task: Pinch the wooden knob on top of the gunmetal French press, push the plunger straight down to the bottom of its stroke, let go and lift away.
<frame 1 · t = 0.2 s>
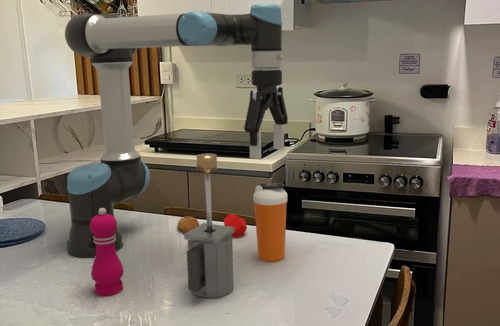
hand: (267, 153, 135), 28 cm above the table, fingers open, 13 cm apart
shaker bottle: (271, 257, 140), on the table
faceted grey canister: (212, 288, 122), on the table
pastry: (189, 231, 163), on the table
plunger: (208, 199, 118), point 22 cm above the table, slide at 0.0 cm
pepper mill: (109, 290, 123), on the table
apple: (235, 235, 158), on the table
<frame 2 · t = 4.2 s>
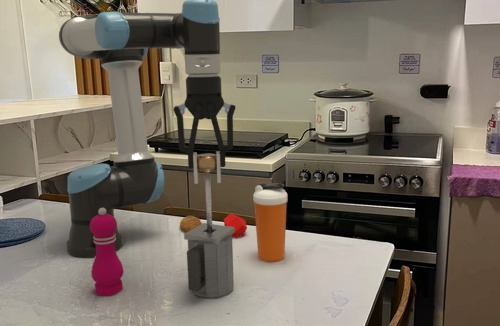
hand: (207, 181, 117), 26 cm above the table, fingers closed on plunger, 4 cm apart
plunger: (208, 199, 118), point 22 cm above the table, slide at 0.0 cm, touching gripper
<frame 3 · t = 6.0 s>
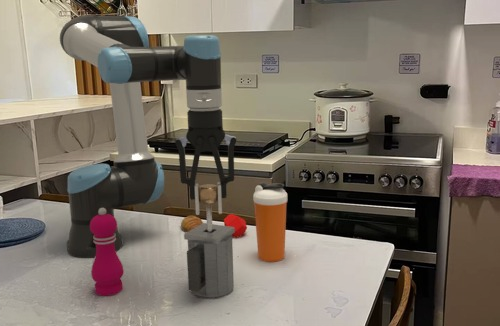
hand: (208, 212, 118), 19 cm above the table, fingers closed on plunger, 4 cm apart
plunger: (209, 229, 119), point 14 cm above the table, slide at 7.1 cm, touching gripper
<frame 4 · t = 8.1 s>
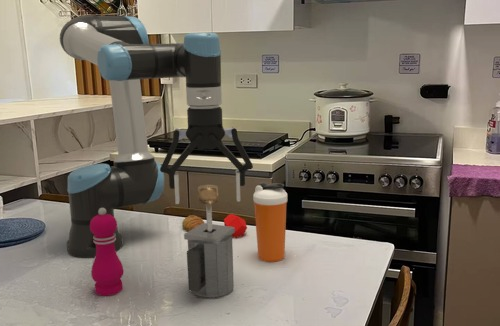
hand: (208, 201, 118), 21 cm above the table, fingers open, 13 cm apart
plunger: (209, 229, 119), point 14 cm above the table, slide at 7.2 cm
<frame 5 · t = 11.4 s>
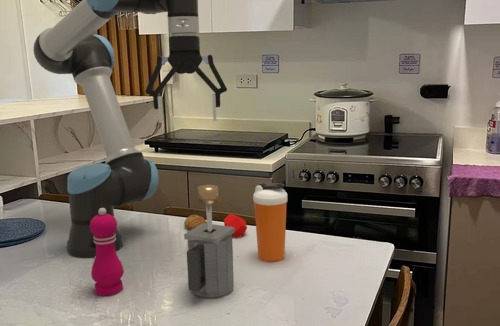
hand: (188, 121, 134), 37 cm above the table, fingers open, 13 cm apart
at the end: plunger slide at 7.2 cm; the gripper is holding nothing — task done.
